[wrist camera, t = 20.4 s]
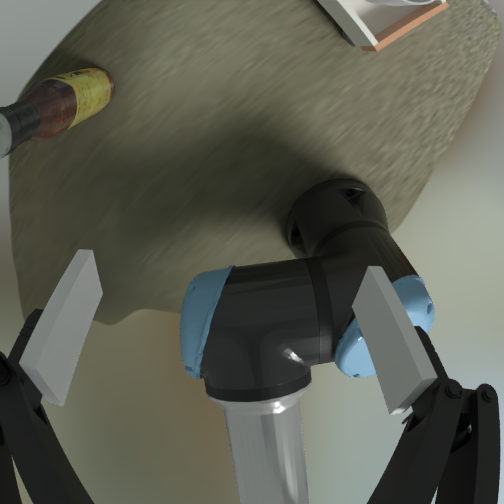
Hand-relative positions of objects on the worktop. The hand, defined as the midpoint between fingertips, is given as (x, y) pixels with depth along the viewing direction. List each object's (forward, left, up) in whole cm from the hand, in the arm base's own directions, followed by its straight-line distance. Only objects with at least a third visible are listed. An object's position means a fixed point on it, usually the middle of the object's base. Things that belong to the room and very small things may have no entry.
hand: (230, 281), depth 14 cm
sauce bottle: (+17, +8, -28) cm, 34 cm away
